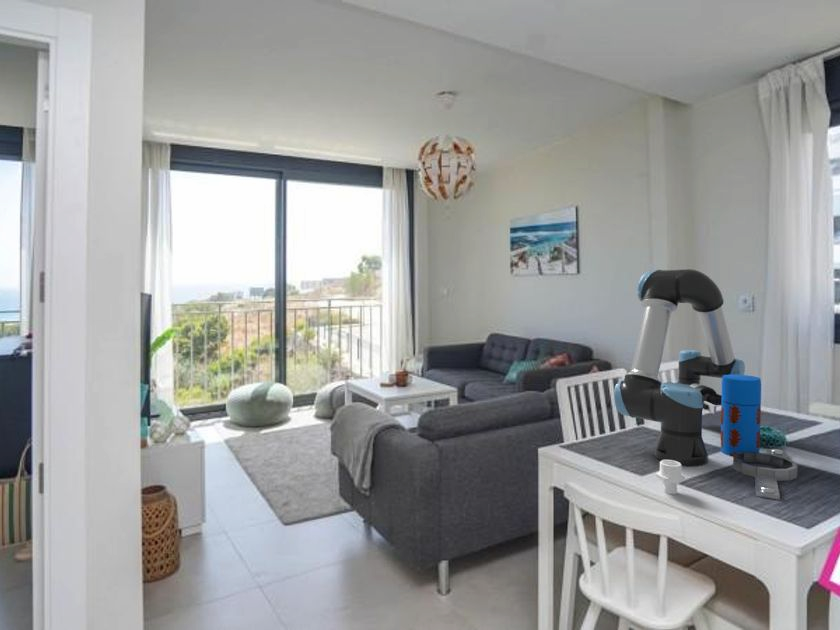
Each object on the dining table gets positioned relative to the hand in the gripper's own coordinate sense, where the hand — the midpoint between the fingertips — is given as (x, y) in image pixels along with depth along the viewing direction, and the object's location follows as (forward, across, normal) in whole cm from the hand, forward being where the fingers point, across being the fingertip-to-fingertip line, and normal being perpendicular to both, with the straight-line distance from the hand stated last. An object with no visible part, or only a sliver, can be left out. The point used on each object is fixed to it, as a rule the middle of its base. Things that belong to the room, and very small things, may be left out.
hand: (736, 409), depth 167 cm
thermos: (+4, +1, -14) cm, 14 cm away
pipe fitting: (+34, +37, -14) cm, 52 cm away
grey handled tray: (+20, +3, -14) cm, 25 cm away
